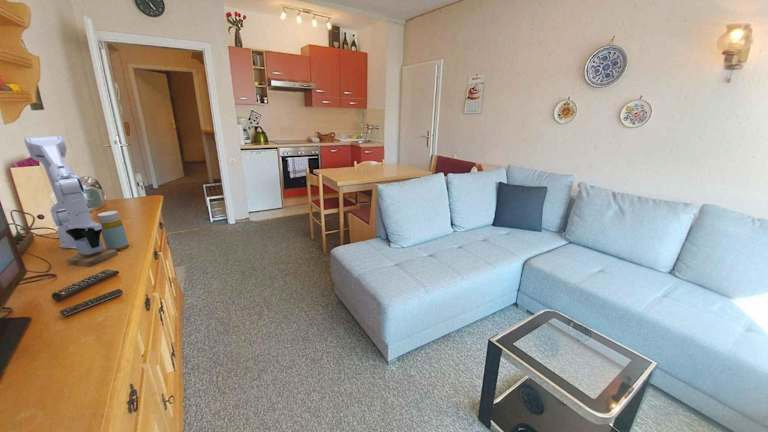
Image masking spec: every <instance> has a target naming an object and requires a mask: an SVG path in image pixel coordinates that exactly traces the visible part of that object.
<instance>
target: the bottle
mask: <svg viewBox="0 0 768 432" xmlns="http://www.w3.org/2000/svg"><path fill="white" fill-rule="evenodd" d="M96 215H97V219H98V220H99V224H101V226H102V231H101V235H102V238H103V239H102V240H103V242H104V245H105V249H112V250H117V252H119V251H122V250H124V249H127V248H128V247H129V246H130V245H129V241H128V237H127V234H126V230H125V226H124V223H123V221H122V220H121V219H120V215H119V212H118V211H117V210H109V211H103V212H100V213H98V214H96Z"/></svg>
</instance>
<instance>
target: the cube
mask: <svg viewBox="0 0 768 432" xmlns="http://www.w3.org/2000/svg"><path fill="white" fill-rule="evenodd" d="M101 239H102V238H100V239H99V246H98V247H96V248H92V247H91V246H90V244H89V241H88V240H87V238H86V237H84V238H81V239H78V240H76V241H74V242H75V245H76V248H77V249H76V251H77V253H78V255H79V254H88V255H90V254H92V253H95V252H97V251H100V250H102V249H105V248H104V246H103V243H102V240H101Z"/></svg>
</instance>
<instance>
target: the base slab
mask: <svg viewBox="0 0 768 432" xmlns="http://www.w3.org/2000/svg"><path fill="white" fill-rule="evenodd" d="M118 255H119V254H118V251H117V250H112V249H107V248H104V249H102V250H100V251H97V252H95V253H92V254H90V255H88V254H79V253H78V254H76V255H74V256H71V257H69V258H66V261H67V264H68V265H70V266H71V265H72V266H80V267H89V268H90V267H91V268H92V267H93V266H95V265H97V264H100V263H102V262H105V261H108V260H110V259H112V258H114V257H116V256H118Z"/></svg>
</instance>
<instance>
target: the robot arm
mask: <svg viewBox="0 0 768 432" xmlns="http://www.w3.org/2000/svg"><path fill="white" fill-rule="evenodd" d="M23 139H24V140H23V141H24V143H25V146H26V149H27V151H28V154H29V157H31V158H32V160H35V161H38V162H40V163H41V164H42V165H43V167H44V170H45V173H46V175H47V178H48V181H49V183H50V186H51V189H52V191H53V194H54V197H55V199H56V201H57V202H56V203H54V204H53V205H52V206H51V207H50V213H51V217H52V220H53V222H54V224H55V226H56V227H57V228H56V229H57V230H56V233H57V237H58V239H59V242H60V244H61V245H59V248H63V249H75V250H77V248H76V245H75V242H74V241H76V240H78V239H81V238H84V237H86V238H87V240H88V241H89V244H90V246H91V247H92V248H96V247H98V246H99V239H101V238H100V237H101V235H102V233H101V231H102V226H101V224H100V222H99V223H98V222H97V221H94V220H93V219H92V216H91V213H90V210H89V207H88V203H87V200H86V197H85V195H84V193H85V188H84V184H83V182H82V180H81V178H80V177H79V176H78V175H76V174H75V173H74V170H73V168H72V167H71V165H69V164H68V163H65V162H64V158H65V157H66V156H67V146H66V143H65V140H64V138H63V137H62V136H61V135H52V136H50V135H47V136H30V137H29V136H26V137H25V138H23Z"/></svg>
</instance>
